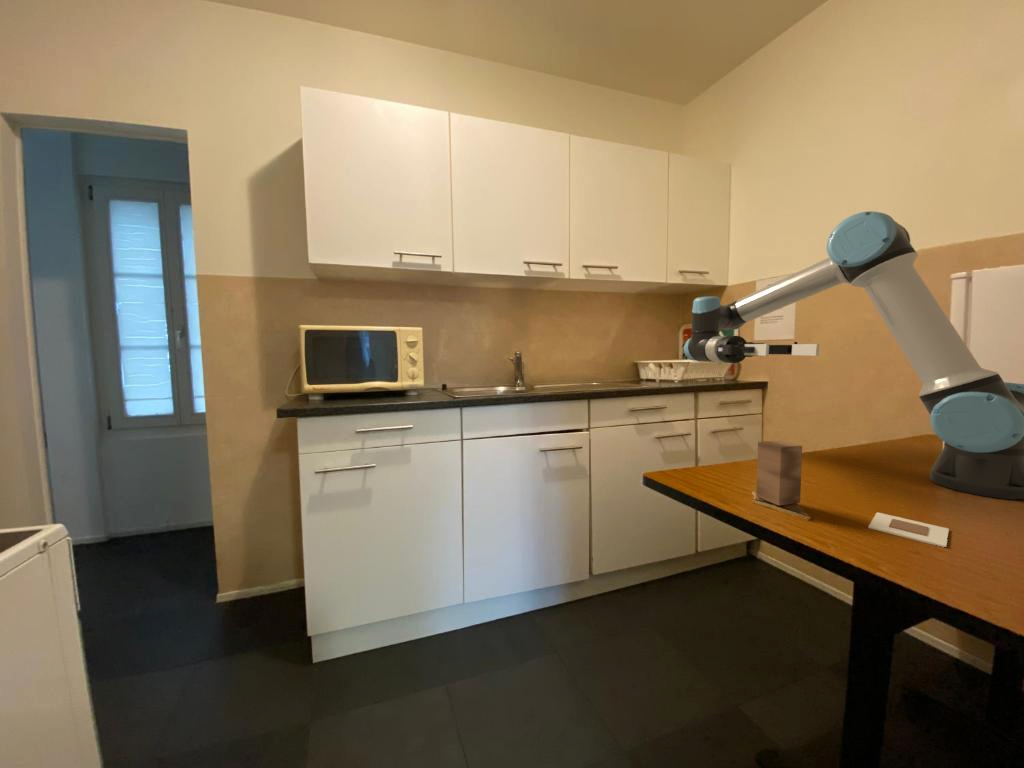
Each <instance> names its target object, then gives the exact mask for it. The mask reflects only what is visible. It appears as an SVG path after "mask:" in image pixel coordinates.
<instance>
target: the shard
mask: <svg viewBox="0 0 1024 768" xmlns="http://www.w3.org/2000/svg"><path fill="white" fill-rule="evenodd" d="M751 494H752V495H753V499H752V500H751V503H752V504H754V503H755V505H758V506H761V505H762V507H765V508H768V509H772V510H774V511H777V512H780V513H783V514H786V515H788V516H791V517H795V518H800V519H803V520H807V521H809V520H811V517H812V516H810V515H809V514H808V513H807V512H805V510H803V508H802V507H801V506H800V505H799V503H795V504H787V505H776V504H774V503H771V502H769V501H766V500H764V499H761V498H759V497H756V495H757V490H756V491H752V492H751Z"/></svg>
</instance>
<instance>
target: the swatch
mask: <svg viewBox="0 0 1024 768" xmlns="http://www.w3.org/2000/svg"><path fill="white" fill-rule="evenodd" d="M867 527H868V528H867V529H870V530H874V531H879V532H881V533H886V534H890V535H895V536H898V537H901V538H906V539H909V540H913V541H917V542H922V543H925V544H929V545H933V546H936V545H937V547H940V546H941V548H944V547H946V548H947V545H948V539H947V538H948V536H949V530H950V529H949V528H948V527H945V526H944V527H943V526H939V525H935V524H930V523H926V522H921V521H917V520H913V519H908V518H904V517H900V516H897V515H896V516H895V515H890V514H887V513H882V512H878V511H877V512H876V513H875V514H874V517H872V519H871V521H870V523H869V525H868V526H867Z"/></svg>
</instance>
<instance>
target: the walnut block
mask: <svg viewBox="0 0 1024 768" xmlns="http://www.w3.org/2000/svg"><path fill="white" fill-rule="evenodd" d="M757 443H758V444H757V467H756V468H757V471H756V492H757V495H756V497H759V498H761V499H764V500H766V501H769V502H771V503H774V504H776V505H787V504H795V503H797V504H800V503H801V490H802V488H801V485H802V463H803V462H802V461H803V445H802V444H797V443H791V442H787V441H783V440H778V439H777V440H767V441H766V440H765V441H758V442H757Z"/></svg>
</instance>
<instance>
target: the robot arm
mask: <svg viewBox="0 0 1024 768" xmlns="http://www.w3.org/2000/svg"><path fill="white" fill-rule="evenodd" d="M826 252H827V255H828V257H827V258H825V259H823V260H820V261H819V262H817V263H815V264H812V265H810V266H808V267H806V268H804V269H801V270H799V271H797V272H795V273H792V274H790V275H789V276H787V277H784V278H782V279H780V280H777V281H775V282H774V283H771V284H770V285H767V286H765V287H762V288H761V289H758V290H756V291H754V292H752V293H750V294H748V295H745V296H743V297H740V298H739V299H737V300H736V301H733V302H731V303H728V304H725V305H723V304H721V298H720V297H718V296H713V295H712V296H700V297H696V298H694V300H693V301H692V309H691V312H692V313H691V315H692V316H691V335H690V338H688V339H687V340H686V341H685V344H684V346H683V353H684V355H685V356H686V358H687V359H689V360H691V361H694V362H702V363H716V364H717V365H721V364H722V363H726V364H739V363H741V362H743V361H744V360H745V359H746V358H752V357H769V356H770V355H791V356H813V357H815V356H816V357H819V353H820V343H798V341H794V342H793V343H792V344H770V343H764V342H752V341H746V339H745V338H744V337H742V336H741V335H740V336H739V335H719V334H720V330H724V331H735V330H739V329H740V328H741V327H743V325H745V324H746V323H748V322H750V321H753V320H756V319H758V318H760V317H762V316H766V315H767V314H770V313H772V312H776V311H777V310H780V309H782V308H783V309H784V308H785V307H787V306H789V305H791V304H792V305H793V304H794V303H797V302H800V301H801V300H805V299H806V298H809V297H812V296H814V295H817V294H819V293H821V292H823V291H826V290H829V289H831V288H834V287H836V286H839V285H841V284H849V285H851V286H852V287H857V288H863V289H864V291H865V293H866V294H867V295H868V297H869V299H870V300H871V302H872V304H873V306H874V307H875V308H876V310H877V312H878V313H879V315H880V317H881V318H882V320H883V322H884V323H885V325H886V327H887V328H888V330H889V331H890V333H891V335H892V337H893V338H894V340H895V341H896V343H897V345H898V346H899V348H900V350H901V351H902V352H903V354H904V356H905V358H906V359H907V361H908V362H909V364H910V366H911V367H912V369H913V370H914V373H915V374H916V376H917V377H918V379H919V380H920V382H921V383H922V387H921V389H920V391H919V392H918V397H919V399H920V401H921V402H922V404H923V405H924V407H925V409H926V411H927V412H928V413H929V419H930V421H929V423H930V426H931V429H932V430H933V432H934V434H935V435H936V436H937V437H938V438H939V439H940V440H941V441H942V442H944V443H943V448H942V450H941V452H940V454H939V455H938V457H937V458H936V460H935V462H934V463H933V465H932V467H931V468H930V473H929V480H930V481H931V482H933V483H934V484H936V485H938V486H939V485H940V486H942V487H944V488H948V489H950V490H951V489H952V490H954V491H955V490H956V491H959V492H963V493H968V494H972V495H978V496H984V497H990V498H997V499H1006V500H1016V499H1024V383H1017V382H1016V383H1015V382H1014V383H1013V382H1005V381H1004V380H1003V378H1002V377H1001V375H1000V374H999V373H998V371H993V370H989V369H985V368H983V367H981V365H980V364H979V363H978V361H977V360H976V358H975V357H974V355H973V353H972V352H971V350H970V349H969V347H968V346H967V344H965V342H964V340H963V338H962V337H961V335H960V334H959V332H958V331H957V330H956V328H955V326H954V325H953V323H952V322H951V321H950V319H949V318H948V316H947V314H946V313H945V311H944V310H943V308H942V307H941V305H940V304H939V303H938V301H937V300H936V298H935V296H934V295H933V293H932V292H931V291H930V289H929V288H928V286H927V285H926V283H925V281H924V280H923V278H922V277H921V275H920V274H919V272H918V271H917V269H916V268H915V266H914V264H915V262H916V259H917V258H918V253H917V251H916V250H915V248H914V247H913V245H912V244H911V237H910V234H909V231H908V230H907V229H906V228H905V227H904V226H903V225H901V224H899V223H898V222H897V221H896V220H895V219H893V217H892V216H891V215H889V214H887V213H885V212H879V211H873V210H871V211H862V212H859V213H855V214H852V215H850V216H848V217H847V218H845V219H843V220H842V221H841V222H840V223H838V224H837V225H836V226H835V227H834V229H833V230H832V231H831V233H830V234H829V236H828V238H827V241H826Z"/></svg>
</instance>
